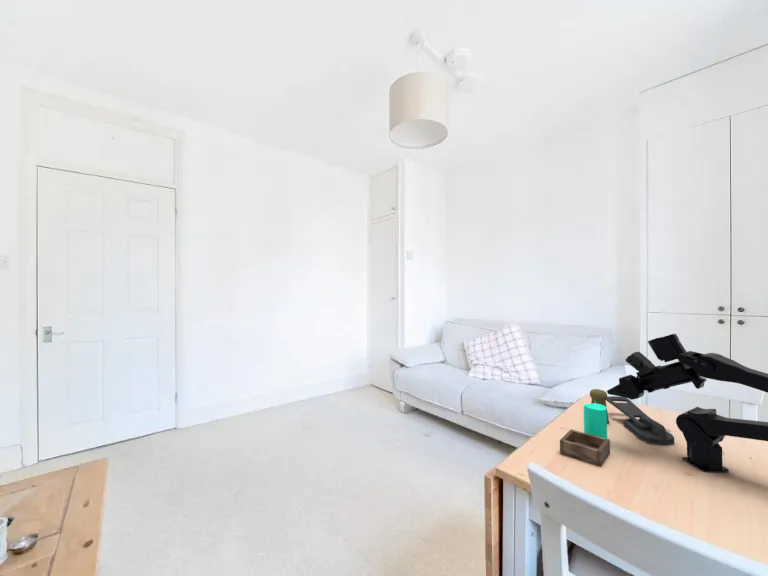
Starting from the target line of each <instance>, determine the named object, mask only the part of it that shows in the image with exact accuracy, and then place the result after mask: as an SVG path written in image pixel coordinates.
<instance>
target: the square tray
mask: <svg viewBox="0 0 768 576" xmlns="http://www.w3.org/2000/svg"><path fill="white" fill-rule="evenodd" d="M559 453H560V454H561V455H564V456H567V457H570V458H573V459H575V460H580V461H583V462H586V463H589V464H592V465H595V466H598V467H602V466H603V464H604V463H605V461H606V460H608V459H607V458H608V457H609V455H610V454H611V439H610V438H607V439H606V438H602V437H598V436H594V435H591V434H587V433H584V431H583V432H582V431H579V430H577V429H572V428H571V429H570V430H569V431H567V433H565V434H564V436H563V437H561V438H560V439H559Z"/></svg>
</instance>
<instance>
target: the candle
mask: <svg viewBox="0 0 768 576" xmlns="http://www.w3.org/2000/svg"><path fill="white" fill-rule="evenodd" d="M606 406H607V405H606ZM606 406H604V405H601V404H596V403H593V404H591V403H587V402H586V403H584V404H583V433H587V434H591V435H594V436H598V437H602V438H606V439H608V425H607V412H608V407H606Z"/></svg>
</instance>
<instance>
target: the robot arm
mask: <svg viewBox="0 0 768 576" xmlns="http://www.w3.org/2000/svg"><path fill="white" fill-rule="evenodd" d="M647 343H648V345H649V347H650V348H651V350H652V352H653V353H654V355H655V357H656V358H657V359H658V360H659V361H660V362H663V361H664V363H668V362H671V363H668V364H665V365H655V363H654V364H653V362H652V361H651V360H650V359H649V358H647V356H645V354H643V353H642V352H640V351H635V352H632V353H631V354H630V355H628V356H627V357H626V358H625V362H626V363H627V364H629V365H630V366H631V367H633V368H634V369H635V370H636V371H637V372H635V374H636V376H634V375H632V374H629V375H625V376H622V377H619V378H618V382H619V383H618V384H617V385H614V386H613V387H611V388H609V389H607V390H606V393H607V395H609V396H619V397H626V398H628V399H629V400H630V401H633V400H637V399H640V398H643V397H644V395H645V391H647V393H648V394H649V393H654V392H656V391H659V390H667V389H670V388H671V387H676V386H680V385H684V384H685V385H686V384H690V383H692V385H693V386H694V388H695V389H697V390H699V389H702V388H703V387H704V386H705V382H707V379H709V380H714V381H720V382H727V383H734V384H735V383H736V384H740V385H744V386H747V387H750V388H753V389H756V390H759V391H761V392H766V393H768V373H766V372H764V371H759V370H757V369H753V368H750V367H748V366H745V365H743V364H741V363H739V362H737V361H735V360H734V359H732V358H728V357H726V356H724V355H721V354H720V353H715V352H708V353H701V352H697V351H692V350H686V349H685V347H684V346H683V344H682V342H681V341H680V339H679V336H678V335H677V333H671V334H668V335H665V336H660V337H656V338H654V339H650V340H648V341H647ZM675 360H678V361H675ZM673 361H675V362H673ZM672 362H673V363H672ZM675 423H676V427H677V428H678V430H679V431H680V432H681V433H682V435H683V437H684V439H685V442H686V456H682V457H681V460H682V461H685V462H687V463H688V464H690V465H692V466H693V467H694V468H695V467H696V469H698V470H700V471H701V472H705V473H710V472H712V473H714V472H719V473H720V472H722V473H723V472H725V473H726V472H729V471H730V469H729V468H727V467H725V466H723V446H721V445H720V442H723V441H724V439H725V437H727V436H728V437H734V438H741V439H742V438H743V439H748V440H755V441H756V440H757V441H763V442H768V421H762V420H761V421H760V420H751V419H741V418H740V419H739V418H732V417H725V416H722V415H720V414H717V409H716V408H702V407H699V406H695V407H694V408H692V409H688V410H687V411H685V412H682V413H680V414H679V415H677V417H676V419H675Z"/></svg>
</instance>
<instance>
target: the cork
mask: <svg viewBox="0 0 768 576" xmlns="http://www.w3.org/2000/svg"><path fill="white" fill-rule="evenodd" d="M589 397H590V398H591V402H590V404H593V403H596V404H601V405H604V406H606V407H607V401H606V400H607V397H608V393H607V391H605V390H603V389H599V388H595V389H594V388H593V389H591V390H590V391H589ZM607 408H608V407H607ZM607 424H608V425H610V420H609V413H608V411H607Z"/></svg>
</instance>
